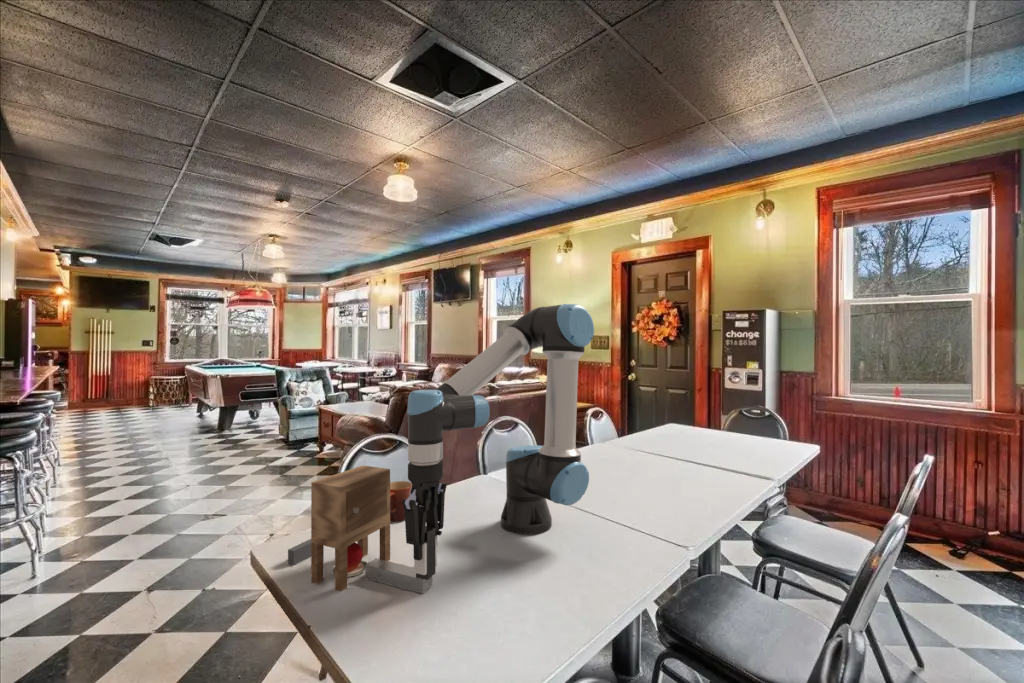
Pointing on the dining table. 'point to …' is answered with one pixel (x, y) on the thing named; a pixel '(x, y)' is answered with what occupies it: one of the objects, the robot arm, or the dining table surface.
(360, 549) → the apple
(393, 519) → the mug
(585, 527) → the dining table surface
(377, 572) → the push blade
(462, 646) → the dining table surface
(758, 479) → the dining table surface
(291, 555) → the block
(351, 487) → the cabinet
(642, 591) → the dining table surface
